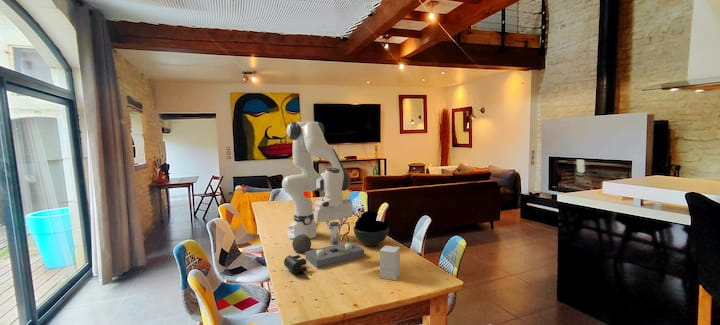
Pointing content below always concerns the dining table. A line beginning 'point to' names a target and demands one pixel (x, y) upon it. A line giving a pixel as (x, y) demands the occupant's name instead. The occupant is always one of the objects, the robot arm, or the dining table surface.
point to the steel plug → (334, 233)
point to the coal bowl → (370, 229)
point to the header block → (334, 254)
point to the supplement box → (390, 262)
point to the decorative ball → (301, 243)
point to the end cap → (295, 264)
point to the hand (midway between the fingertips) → (334, 228)
